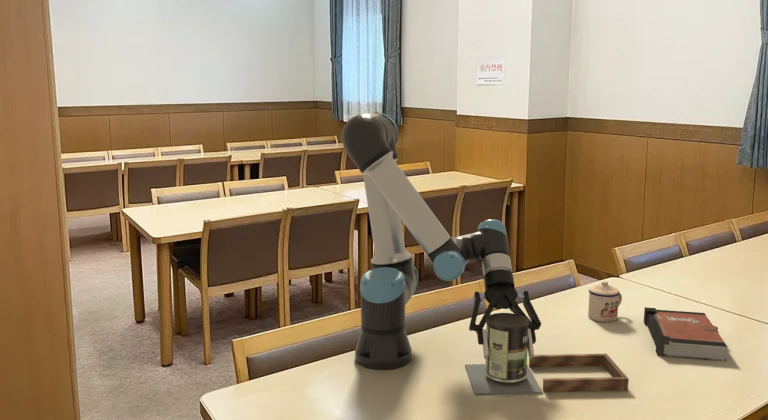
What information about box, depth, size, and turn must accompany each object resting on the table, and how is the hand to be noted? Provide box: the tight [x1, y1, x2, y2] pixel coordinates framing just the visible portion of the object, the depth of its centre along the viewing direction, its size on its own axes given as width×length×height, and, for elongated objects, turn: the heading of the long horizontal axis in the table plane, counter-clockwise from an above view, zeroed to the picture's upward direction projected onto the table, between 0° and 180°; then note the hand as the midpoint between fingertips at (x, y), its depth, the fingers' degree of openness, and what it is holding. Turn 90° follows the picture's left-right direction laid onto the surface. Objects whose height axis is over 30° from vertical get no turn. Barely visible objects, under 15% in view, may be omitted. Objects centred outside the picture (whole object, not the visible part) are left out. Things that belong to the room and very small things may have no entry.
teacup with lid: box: [587, 280, 623, 323], centre depth 201 cm, size 12×9×12 cm
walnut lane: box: [528, 353, 629, 393], centre depth 160 cm, size 20×15×3 cm
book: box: [643, 306, 729, 362], centre depth 183 cm, size 26×18×5 cm
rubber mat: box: [464, 363, 544, 396], centre depth 160 cm, size 16×16×1 cm
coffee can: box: [485, 312, 529, 383], centre depth 159 cm, size 10×10×14 cm
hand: (509, 356), depth 156 cm, fingers open, 10 cm apart
